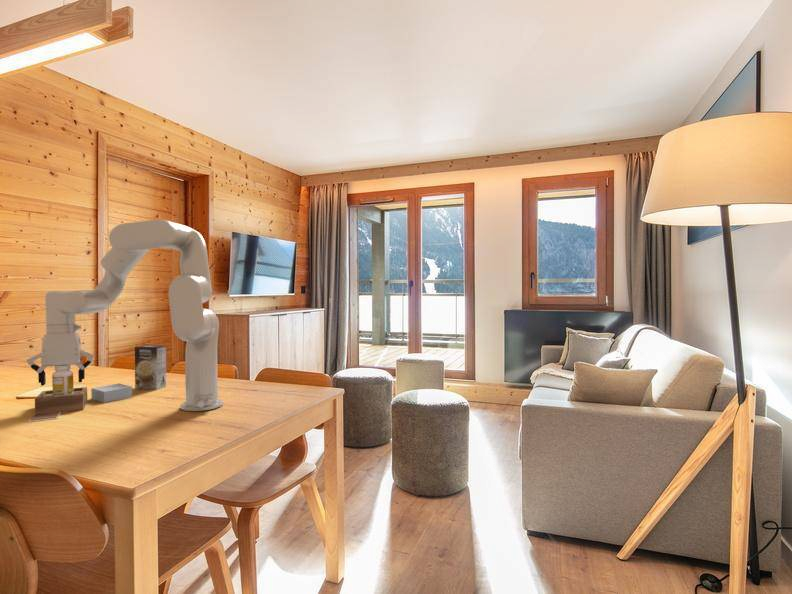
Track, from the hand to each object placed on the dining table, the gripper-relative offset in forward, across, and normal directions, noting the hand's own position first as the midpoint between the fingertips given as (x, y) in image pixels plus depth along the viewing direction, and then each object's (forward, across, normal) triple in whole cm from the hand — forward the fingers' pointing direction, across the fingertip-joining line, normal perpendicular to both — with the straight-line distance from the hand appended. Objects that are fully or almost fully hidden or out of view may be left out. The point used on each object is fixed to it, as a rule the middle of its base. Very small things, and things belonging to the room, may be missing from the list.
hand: (62, 383), depth 144 cm
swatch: (+8, +3, +10) cm, 13 cm away
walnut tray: (+8, 0, 0) cm, 8 cm away
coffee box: (+8, -25, -18) cm, 32 cm away
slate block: (+8, -13, -7) cm, 17 cm away
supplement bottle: (+4, 0, 0) cm, 4 cm away
